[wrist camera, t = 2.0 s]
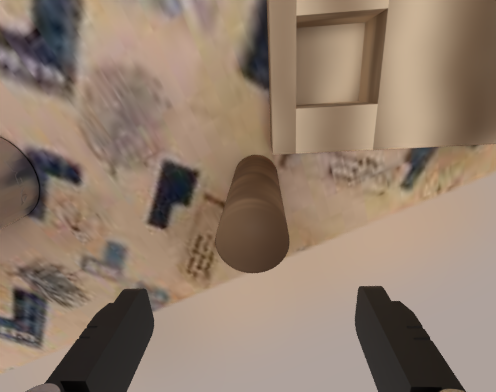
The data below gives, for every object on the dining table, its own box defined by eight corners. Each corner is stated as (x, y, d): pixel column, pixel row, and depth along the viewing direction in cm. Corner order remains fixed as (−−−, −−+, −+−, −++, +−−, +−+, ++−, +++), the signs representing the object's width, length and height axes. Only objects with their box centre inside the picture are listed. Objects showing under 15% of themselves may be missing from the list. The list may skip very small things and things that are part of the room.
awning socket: (271, 148, 25) (284, 233, 10) (266, -27, 20) (278, -314, 6) (484, 138, 24) (831, 216, 9) (533, -51, 19) (1399, -490, 5)
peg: (236, 196, 27) (219, 273, 16) (233, 156, 25) (211, 210, 14) (277, 194, 26) (289, 272, 15) (276, 153, 25) (289, 207, 14)
